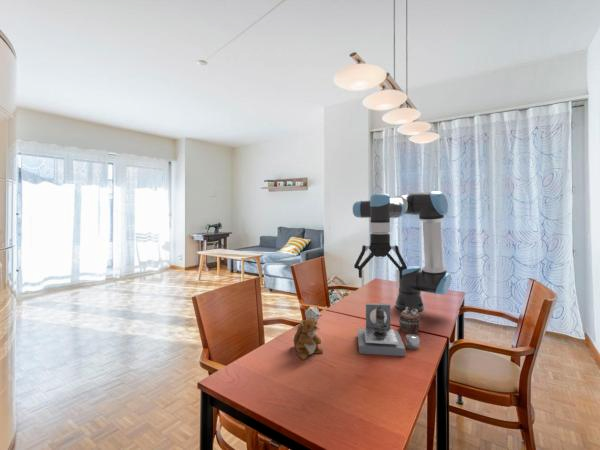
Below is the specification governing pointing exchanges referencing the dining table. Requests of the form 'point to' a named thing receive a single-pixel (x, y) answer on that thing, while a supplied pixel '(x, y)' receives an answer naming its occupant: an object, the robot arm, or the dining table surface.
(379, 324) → the dark grey tall piece
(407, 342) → the spacer
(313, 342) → the stuffed squirrel
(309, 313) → the game die
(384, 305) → the scale base
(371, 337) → the pan
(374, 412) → the dining table surface
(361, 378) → the dining table surface
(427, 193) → the robot arm
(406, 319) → the cupcake
